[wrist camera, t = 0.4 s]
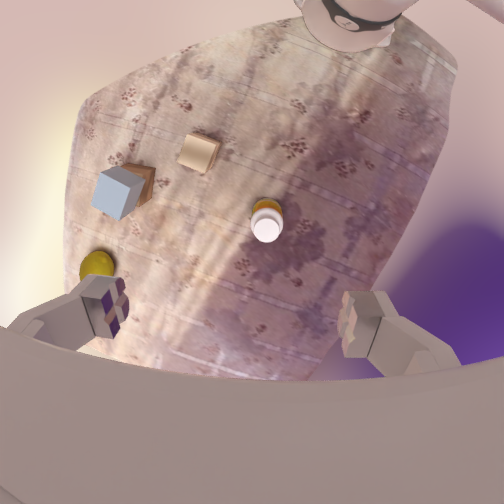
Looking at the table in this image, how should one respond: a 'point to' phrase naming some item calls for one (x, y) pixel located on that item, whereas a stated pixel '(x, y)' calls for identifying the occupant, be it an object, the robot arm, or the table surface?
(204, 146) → the maple block
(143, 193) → the bottom block
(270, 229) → the supplement bottle
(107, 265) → the lemon
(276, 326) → the table surface
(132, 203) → the top block
